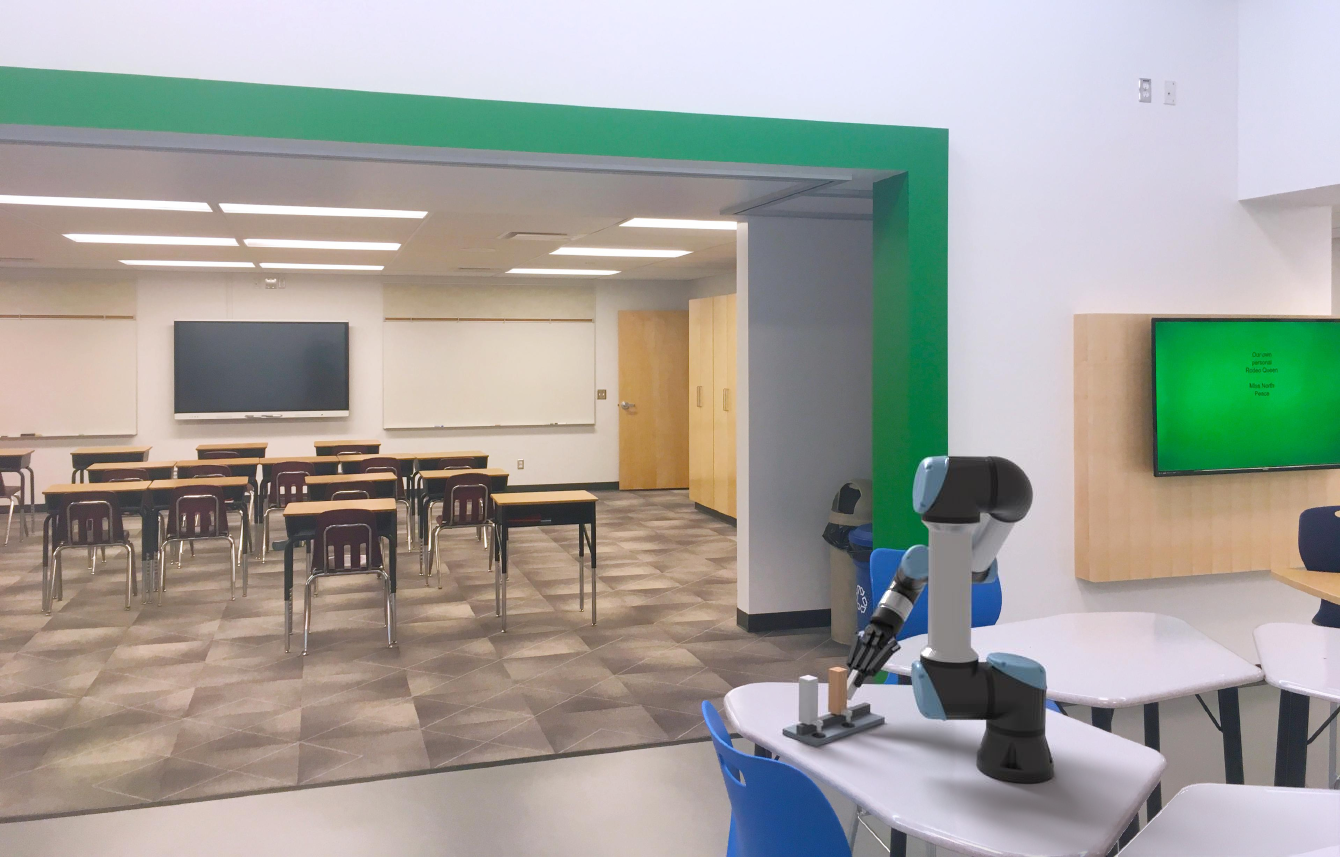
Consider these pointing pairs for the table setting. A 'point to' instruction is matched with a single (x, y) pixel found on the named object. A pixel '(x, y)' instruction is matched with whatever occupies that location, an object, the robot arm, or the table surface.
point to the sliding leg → (838, 692)
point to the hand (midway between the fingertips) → (845, 696)
